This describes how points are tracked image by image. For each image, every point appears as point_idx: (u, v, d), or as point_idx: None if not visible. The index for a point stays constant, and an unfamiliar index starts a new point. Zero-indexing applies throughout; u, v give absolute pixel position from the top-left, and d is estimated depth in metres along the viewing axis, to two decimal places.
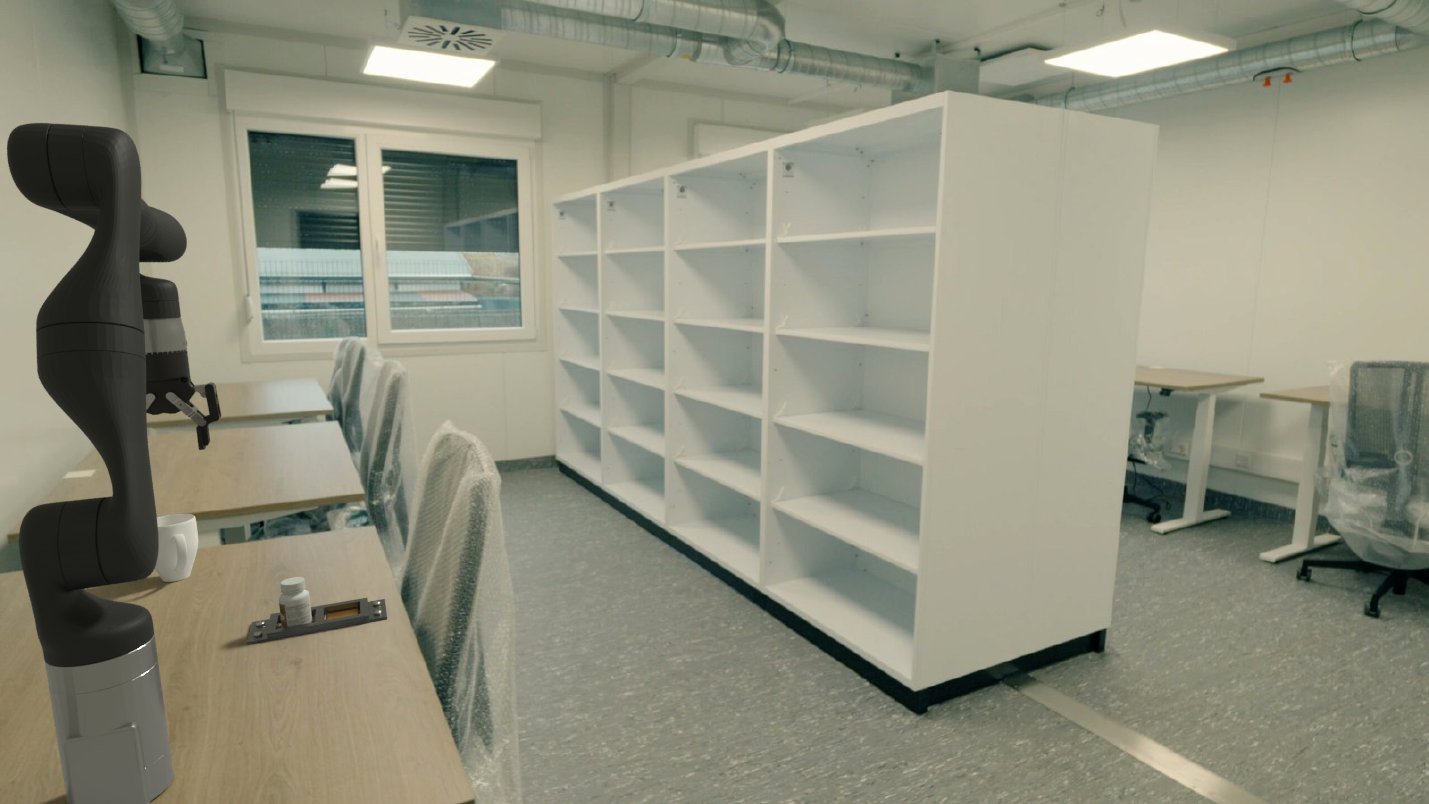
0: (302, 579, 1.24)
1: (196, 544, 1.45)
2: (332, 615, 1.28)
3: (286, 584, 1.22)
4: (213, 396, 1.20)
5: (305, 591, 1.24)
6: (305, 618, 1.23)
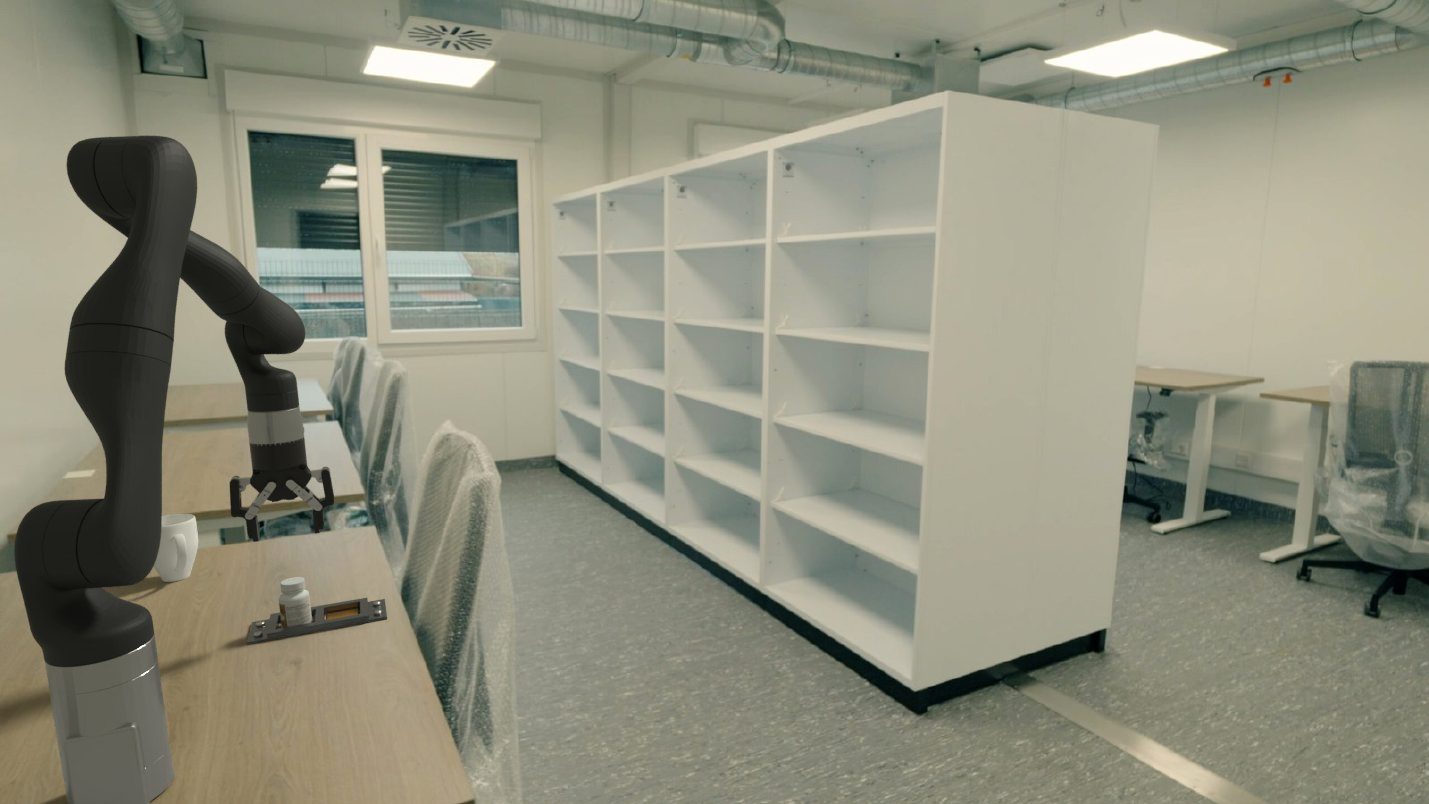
0: (302, 579, 1.24)
1: (196, 544, 1.45)
2: (332, 615, 1.28)
3: (286, 584, 1.22)
4: (329, 481, 1.23)
5: (305, 591, 1.24)
6: (305, 618, 1.23)
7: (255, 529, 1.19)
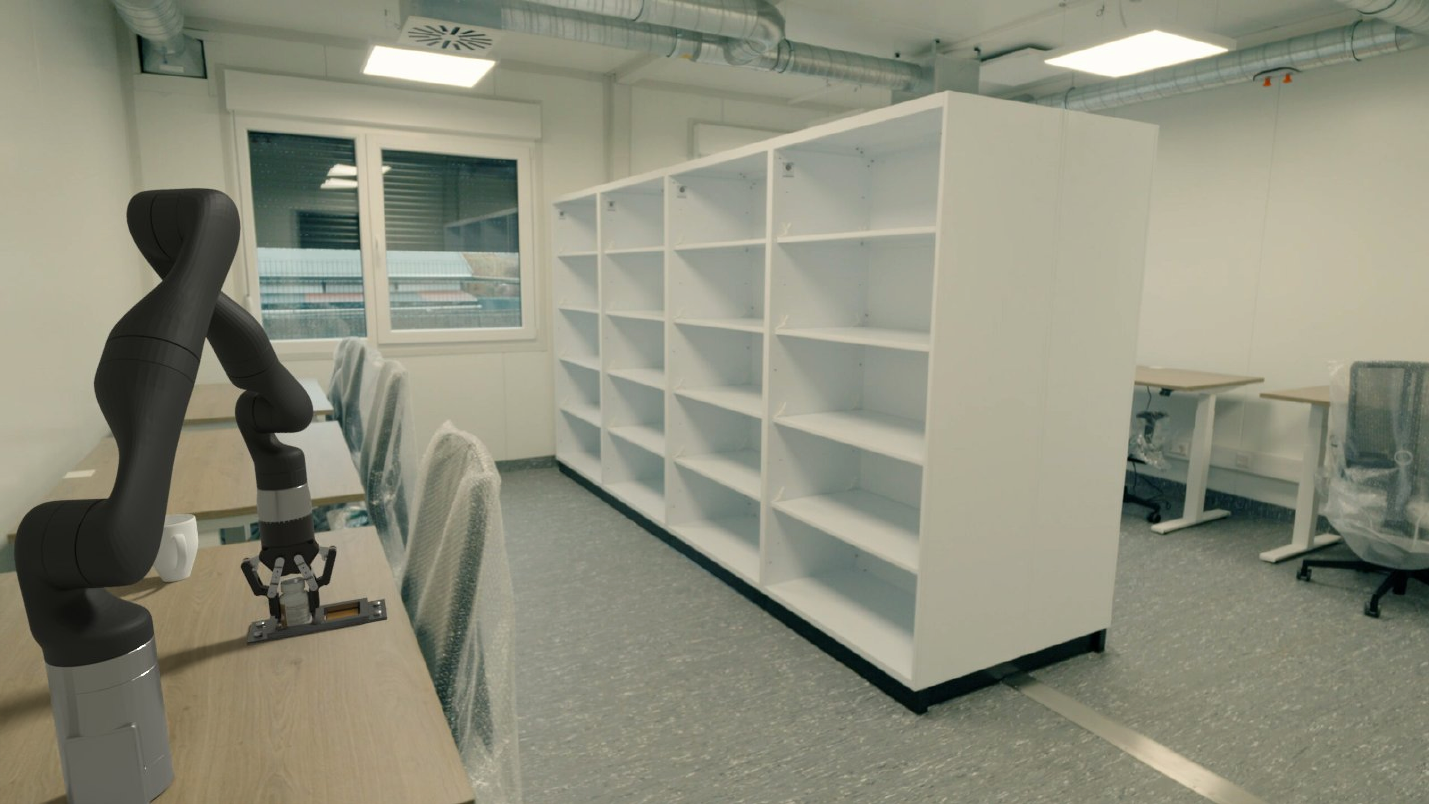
0: (302, 579, 1.24)
1: (196, 544, 1.45)
2: (332, 615, 1.28)
3: (286, 584, 1.22)
4: (332, 562, 1.25)
5: (305, 591, 1.24)
6: (305, 618, 1.23)
7: (277, 607, 1.22)
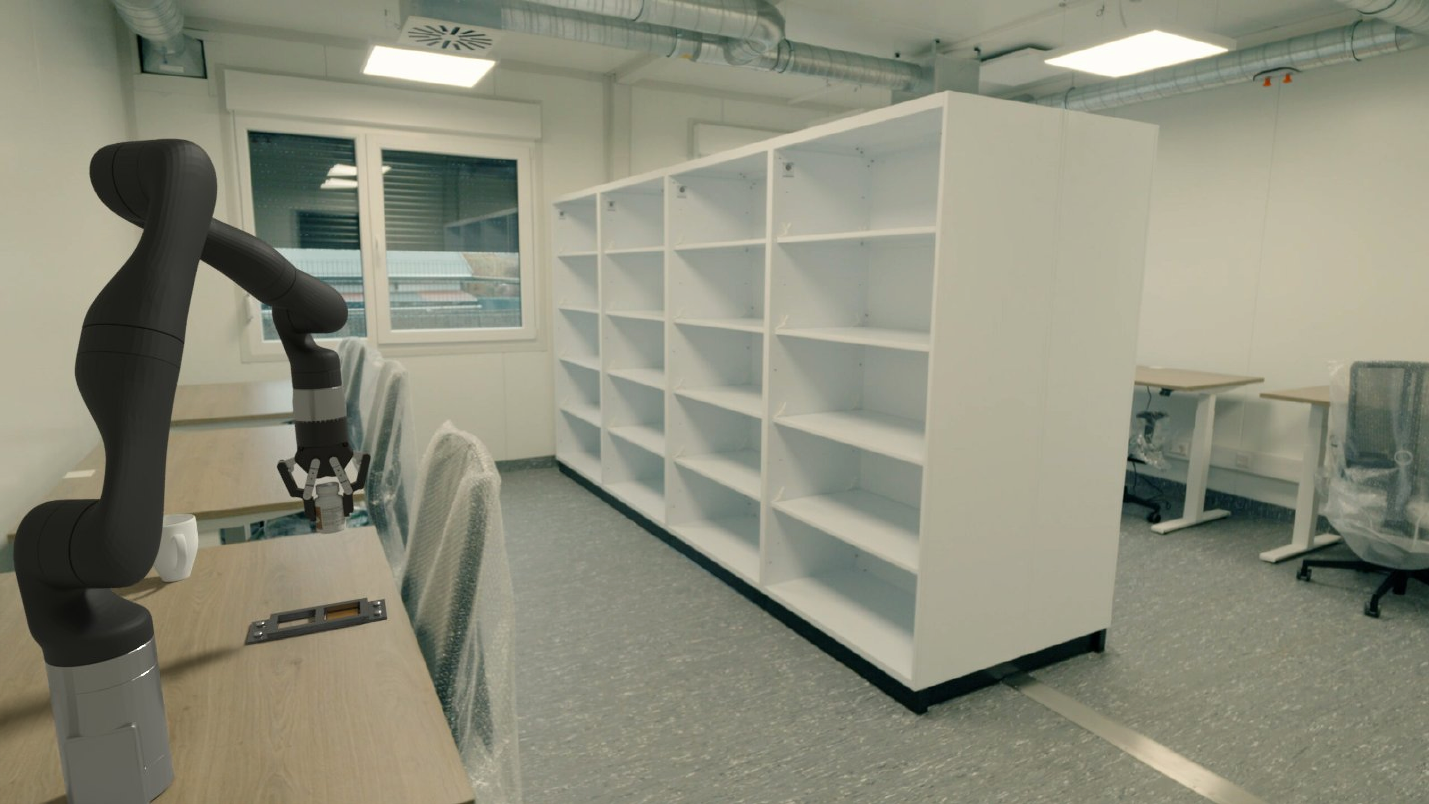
0: (336, 483, 1.24)
1: (196, 544, 1.45)
2: (332, 615, 1.28)
3: (321, 486, 1.22)
4: (367, 466, 1.25)
5: (339, 495, 1.25)
6: (340, 521, 1.24)
7: (312, 509, 1.22)
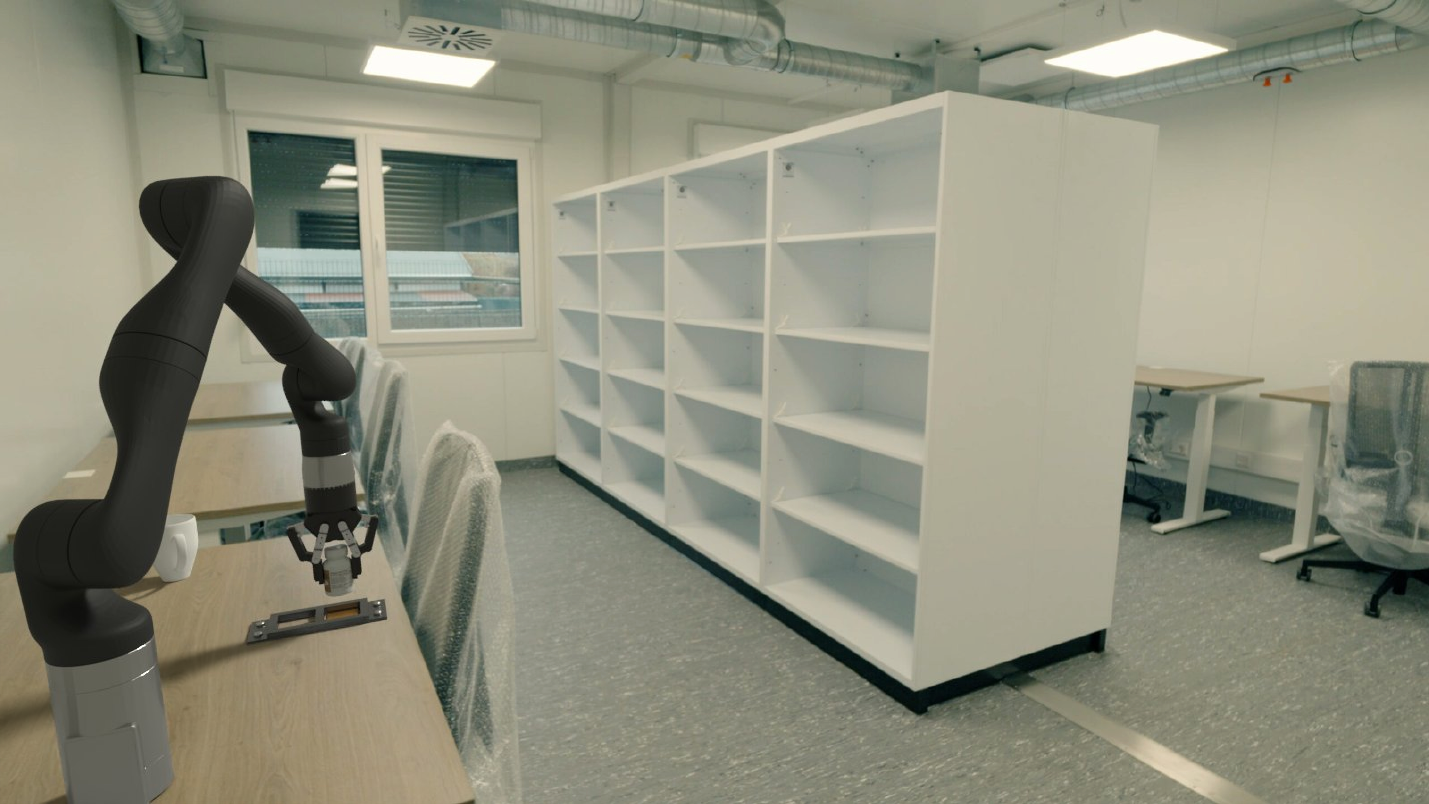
0: (345, 546, 1.26)
1: (196, 544, 1.45)
2: (332, 615, 1.28)
3: (329, 550, 1.24)
4: (375, 529, 1.27)
5: (348, 557, 1.27)
6: (348, 584, 1.26)
7: (321, 572, 1.24)
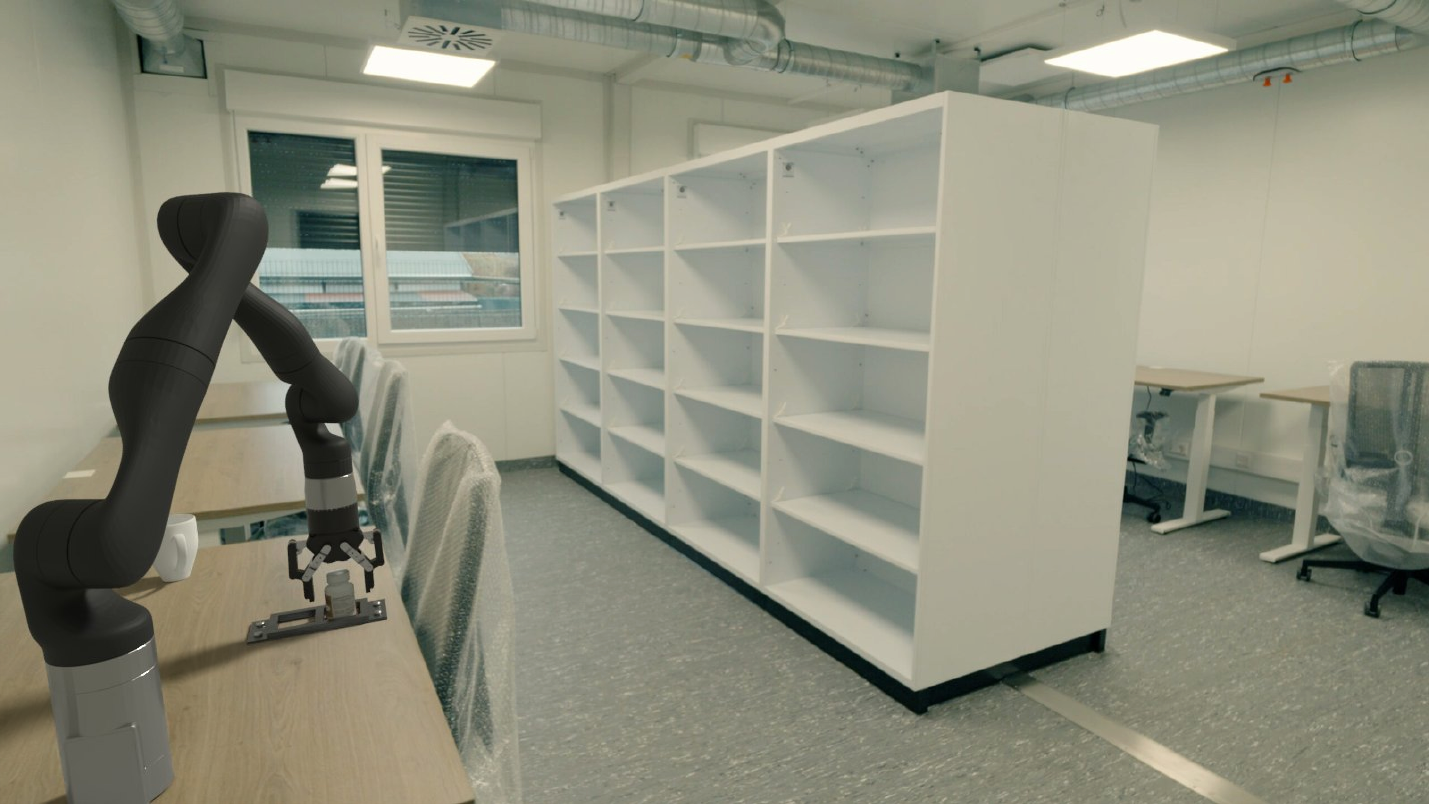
0: (347, 571, 1.27)
1: (196, 544, 1.45)
2: None
3: (331, 575, 1.25)
4: (380, 543, 1.27)
5: (350, 583, 1.27)
6: (350, 609, 1.26)
7: (311, 590, 1.24)
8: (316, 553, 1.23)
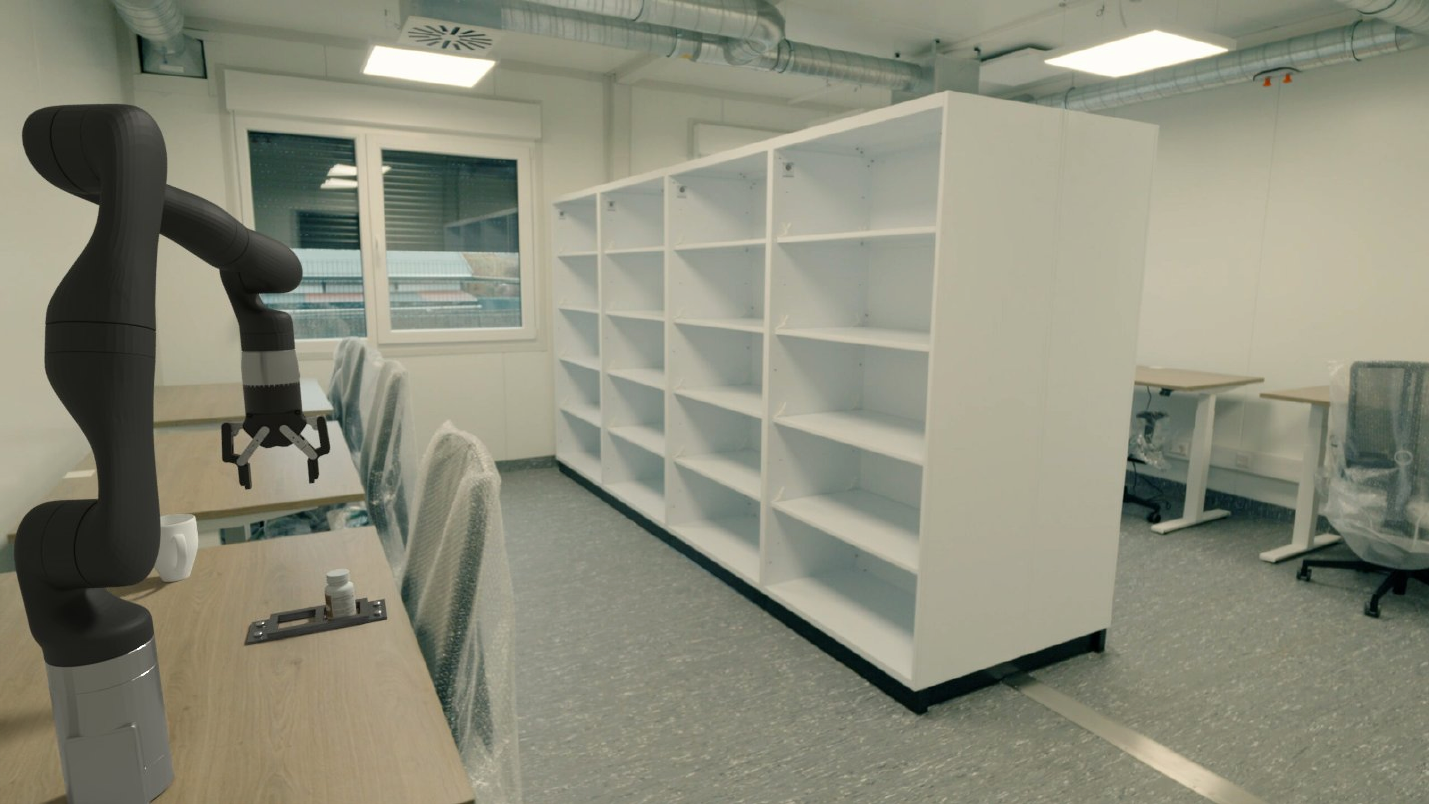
0: (347, 571, 1.27)
1: (196, 544, 1.45)
2: None
3: (332, 575, 1.25)
4: (324, 429, 1.18)
5: (350, 583, 1.27)
6: (350, 609, 1.26)
7: (247, 476, 1.15)
8: (253, 435, 1.14)
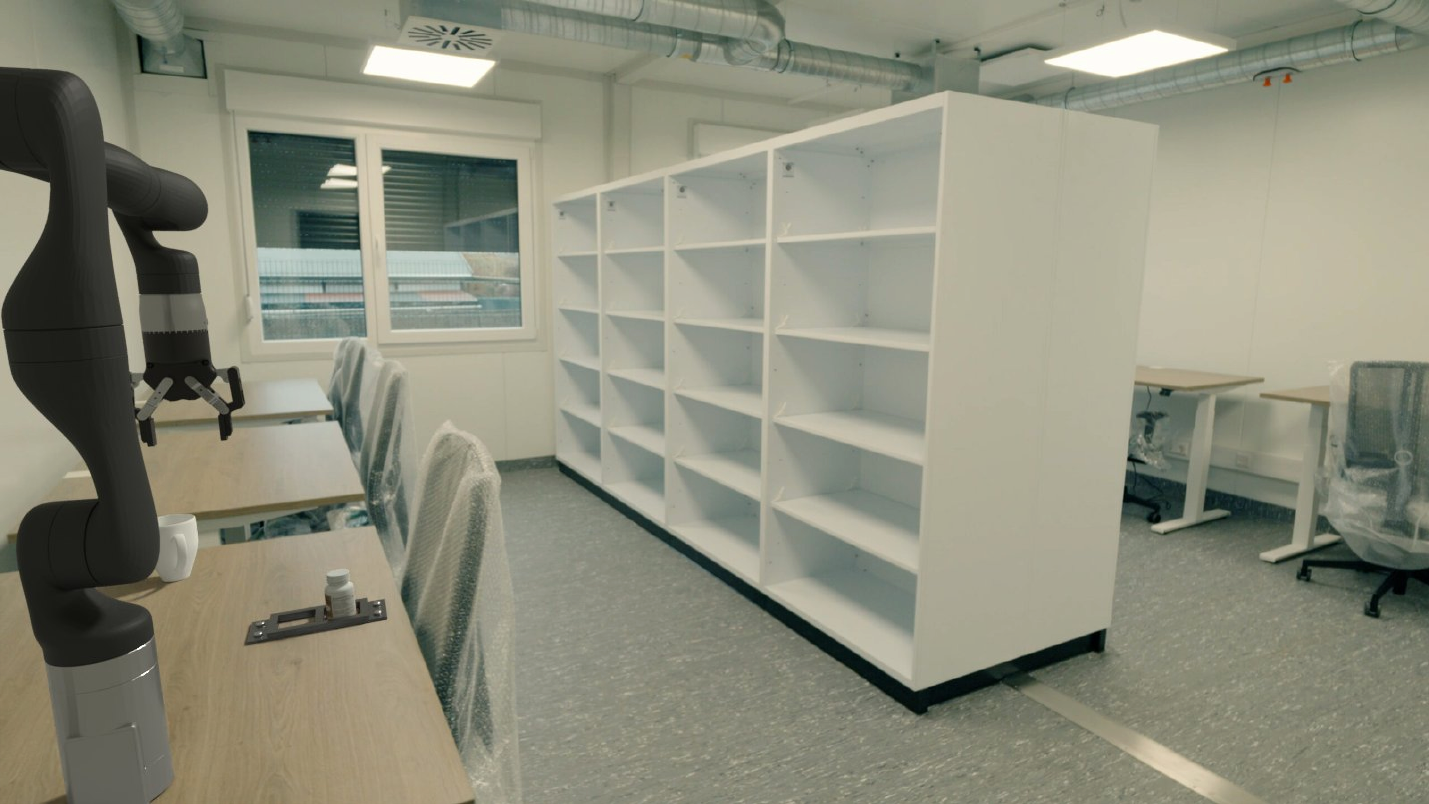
0: (347, 571, 1.27)
1: (196, 544, 1.45)
2: None
3: (332, 575, 1.25)
4: (237, 381, 1.08)
5: (350, 583, 1.27)
6: (350, 609, 1.26)
7: (149, 432, 1.05)
8: (155, 387, 1.04)
